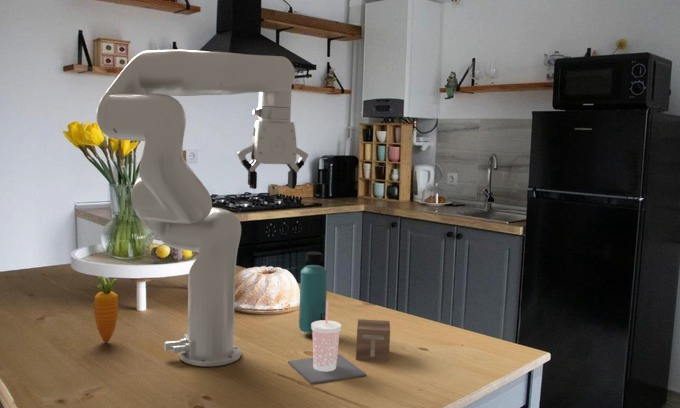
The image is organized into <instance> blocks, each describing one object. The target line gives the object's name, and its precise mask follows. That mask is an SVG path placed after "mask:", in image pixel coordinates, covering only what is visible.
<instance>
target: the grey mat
mask: <svg viewBox="0 0 680 408" xmlns="http://www.w3.org/2000/svg"><path fill="white" fill-rule="evenodd" d="M287 363H288V364H289V365H290V366H291V368H293V369H294V370H296V372H297V373H298V374H299V375H300V376H302V377H303V378H304V379H305V380H306V381H307V382H308V383H310V385H315V384H323V383H328V382H335V381H341V380H348V379H353V378H354V379H355V378H361V377H366V376H367V373H366V372H364V371H363V370H362V369H361V368H359V367H357V366H356V365H355V364H353V362H351V361H350V360H348V359H347V358H345V357H344V356H343V355H342V354H340V353H339V354H338V353H337V362H336V369H335V370H333V371H327V372H324V371H318V370H316V369H314V367H313V357H311V358H310V357H309V358H301V359H292V360H288V361H287Z"/></svg>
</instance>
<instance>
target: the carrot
mask: <svg viewBox="0 0 680 408" xmlns="http://www.w3.org/2000/svg"><path fill="white" fill-rule="evenodd" d="M97 280H98V282H99V283H100V284H98V285H97V286H96V287H97V288H98V289H99V290H100V291H99V292H98V293H96V294H95V296H94V297H93V299H94V300H93V306H94V307H93V309H94V317H95V324H96V328H97V331H98V333H99V336H100V337H101V340H102V341H103V342H104V343H105V344H107V343H109V342H110V340H111V338H112V336H113V334H114V332H115V329H116V325H117V320H118V315H119V314H118V313H119V295H118V294H117V293H116V292H114V291H112V290H113V289H114V286H115V284H116V283H117V281H118V279H116V278H113V279H112V281H110V278H109V277H105V278H104V277H103V276H102V275H100V276H99V275H98V277H97Z"/></svg>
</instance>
